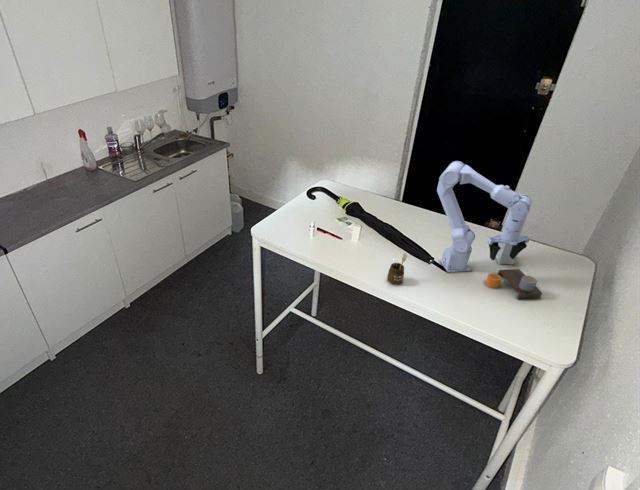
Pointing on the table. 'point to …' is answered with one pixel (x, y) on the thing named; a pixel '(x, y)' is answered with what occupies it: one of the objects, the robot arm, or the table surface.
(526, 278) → the grey tape
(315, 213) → the table surface
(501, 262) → the small box
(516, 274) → the brown rectangular block
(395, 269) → the utensil holder
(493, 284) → the orange tape
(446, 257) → the robot arm
